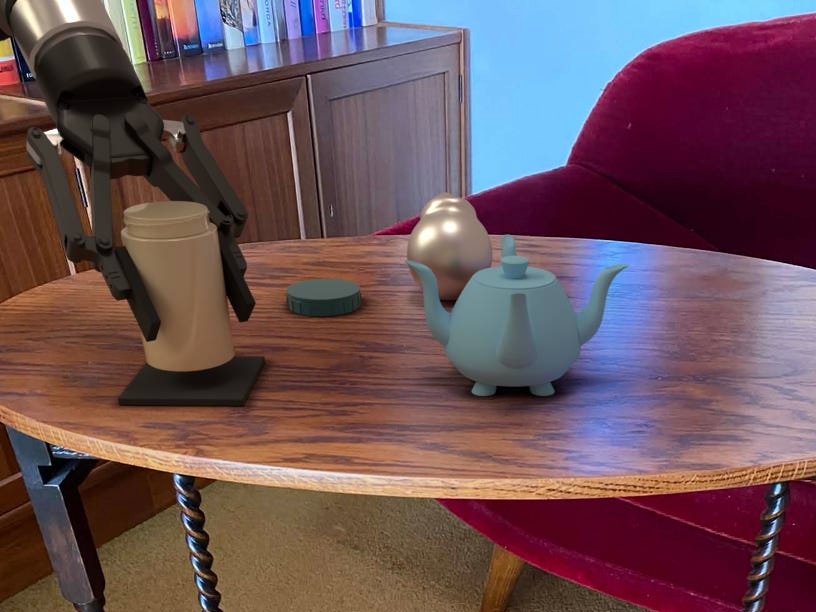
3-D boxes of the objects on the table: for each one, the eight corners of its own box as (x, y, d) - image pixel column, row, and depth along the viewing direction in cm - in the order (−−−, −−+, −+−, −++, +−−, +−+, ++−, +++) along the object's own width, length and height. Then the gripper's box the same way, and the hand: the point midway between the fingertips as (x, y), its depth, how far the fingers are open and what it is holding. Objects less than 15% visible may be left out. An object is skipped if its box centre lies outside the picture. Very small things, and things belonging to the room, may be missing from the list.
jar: (135, 371, 77) (103, 220, 70) (159, 341, 83) (132, 199, 76) (225, 372, 77) (202, 220, 70) (242, 342, 83) (223, 199, 76)
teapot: (405, 380, 82) (400, 257, 76) (511, 343, 90) (513, 229, 84) (515, 422, 75) (519, 290, 69) (620, 379, 83) (631, 256, 77)
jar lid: (367, 295, 102) (366, 279, 101) (353, 318, 96) (352, 300, 95) (297, 293, 102) (295, 277, 101) (279, 315, 96) (277, 298, 95)
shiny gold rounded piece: (501, 288, 105) (504, 189, 99) (480, 314, 97) (480, 208, 91) (422, 282, 106) (420, 183, 100) (395, 306, 99) (390, 202, 93)
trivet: (118, 405, 77) (117, 398, 77) (152, 361, 85) (151, 355, 85) (243, 406, 77) (242, 399, 77) (265, 362, 85) (264, 356, 85)
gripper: (190, 92, 85) (300, 323, 84) (-53, 109, 74) (70, 373, 74) (207, 24, 78) (327, 274, 77) (-57, 33, 68) (78, 321, 67)
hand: (201, 321), depth 76 cm, fingers closed on jar, 7 cm apart
